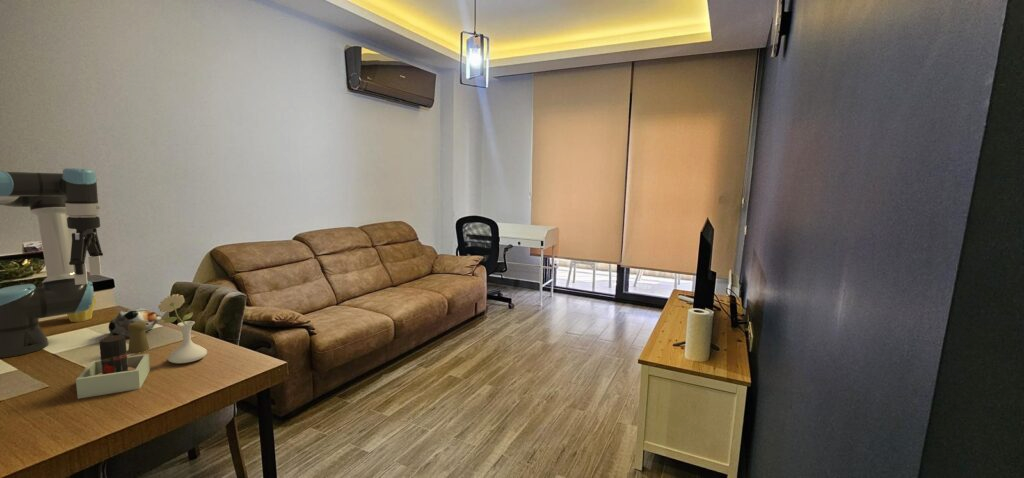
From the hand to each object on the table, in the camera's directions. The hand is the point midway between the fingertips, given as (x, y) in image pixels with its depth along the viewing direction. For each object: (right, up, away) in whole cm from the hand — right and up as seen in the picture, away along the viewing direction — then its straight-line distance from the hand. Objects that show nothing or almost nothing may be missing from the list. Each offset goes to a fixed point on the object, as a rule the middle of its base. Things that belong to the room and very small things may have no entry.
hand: (88, 279), depth 139 cm
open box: (+15, -33, -7) cm, 37 cm away
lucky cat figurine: (-14, -26, +34) cm, 45 cm away
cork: (0, -29, +18) cm, 34 cm away
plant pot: (-50, -23, +46) cm, 71 cm away
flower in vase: (+23, -31, +12) cm, 40 cm away
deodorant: (+15, -33, -6) cm, 37 cm away
